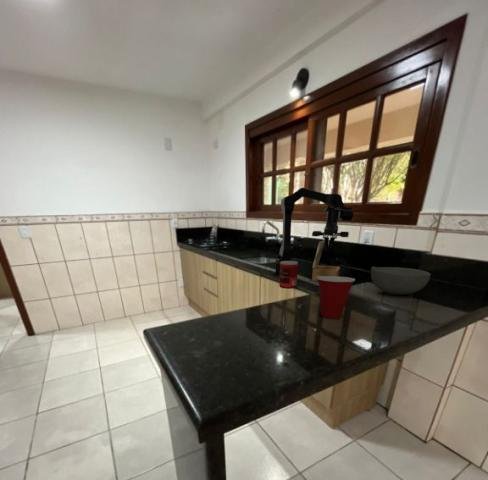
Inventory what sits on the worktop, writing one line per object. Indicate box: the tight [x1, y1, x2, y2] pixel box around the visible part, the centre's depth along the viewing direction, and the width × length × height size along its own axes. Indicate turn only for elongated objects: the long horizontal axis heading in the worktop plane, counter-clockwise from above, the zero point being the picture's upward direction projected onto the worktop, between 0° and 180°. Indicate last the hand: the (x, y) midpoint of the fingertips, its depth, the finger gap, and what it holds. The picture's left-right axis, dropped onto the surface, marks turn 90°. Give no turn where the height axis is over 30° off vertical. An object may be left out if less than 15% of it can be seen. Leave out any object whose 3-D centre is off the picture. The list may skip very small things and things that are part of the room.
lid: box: [312, 240, 326, 269], centre depth 131 cm, size 12×13×1 cm
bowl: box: [370, 266, 432, 296], centre depth 104 cm, size 20×20×10 cm
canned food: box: [278, 260, 299, 290], centre depth 116 cm, size 8×8×11 cm
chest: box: [311, 265, 341, 282], centre depth 133 cm, size 12×13×6 cm
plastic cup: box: [317, 276, 356, 319], centre depth 79 cm, size 11×11×12 cm
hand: (328, 250), depth 146 cm, fingers closed
